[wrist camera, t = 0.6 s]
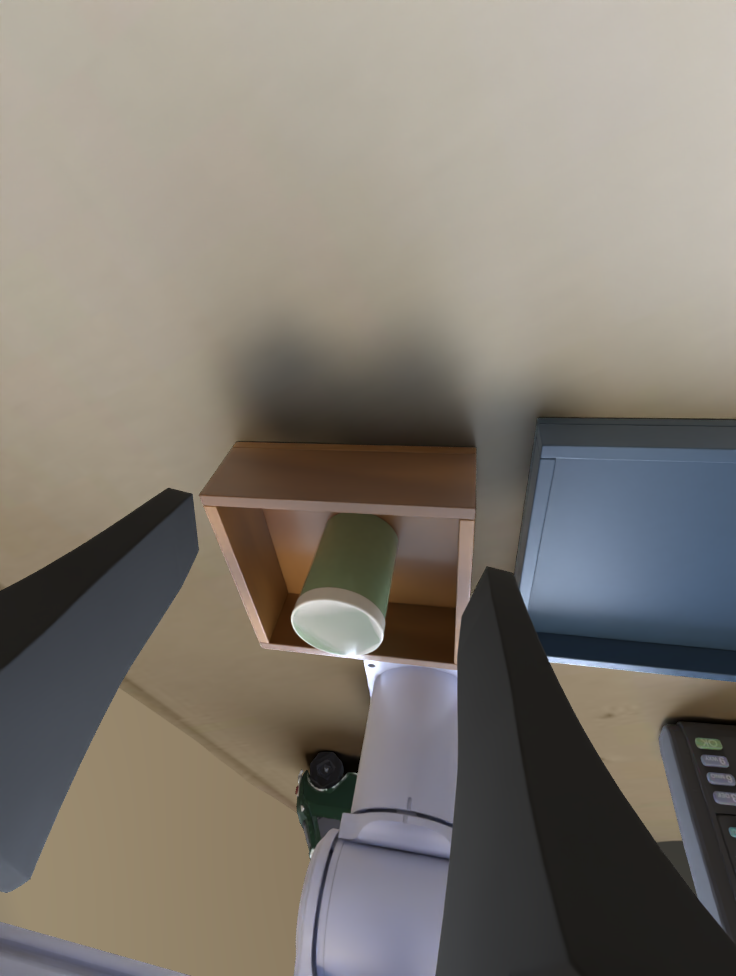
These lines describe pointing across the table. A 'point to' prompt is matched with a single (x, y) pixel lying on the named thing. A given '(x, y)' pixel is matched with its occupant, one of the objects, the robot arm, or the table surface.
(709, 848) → the card reader
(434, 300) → the table surface
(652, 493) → the tray
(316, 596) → the shaker
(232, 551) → the open wooden box
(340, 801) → the miniature car
